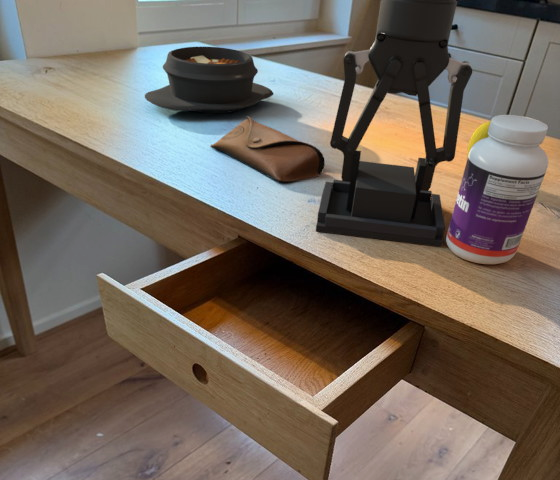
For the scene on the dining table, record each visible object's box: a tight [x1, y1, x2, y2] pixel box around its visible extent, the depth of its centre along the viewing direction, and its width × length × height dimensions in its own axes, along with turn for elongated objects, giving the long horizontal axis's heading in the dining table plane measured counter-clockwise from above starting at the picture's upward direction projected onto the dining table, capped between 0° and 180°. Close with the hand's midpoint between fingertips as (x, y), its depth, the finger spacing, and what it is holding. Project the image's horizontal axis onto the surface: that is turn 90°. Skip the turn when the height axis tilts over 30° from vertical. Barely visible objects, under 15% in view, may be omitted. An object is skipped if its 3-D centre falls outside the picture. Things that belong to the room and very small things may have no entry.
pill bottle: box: [445, 114, 549, 265], centre depth 61 cm, size 8×8×14 cm
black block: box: [351, 160, 416, 224], centre depth 69 cm, size 7×9×4 cm
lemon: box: [466, 120, 491, 159], centre depth 83 cm, size 6×6×8 cm
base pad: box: [315, 179, 446, 247], centre depth 71 cm, size 15×12×2 cm
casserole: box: [144, 46, 274, 114], centre depth 102 cm, size 25×19×8 cm
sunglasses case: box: [209, 115, 326, 183], centre depth 84 cm, size 18×7×7 cm
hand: (380, 209), depth 71 cm, fingers closed on black block, 7 cm apart
